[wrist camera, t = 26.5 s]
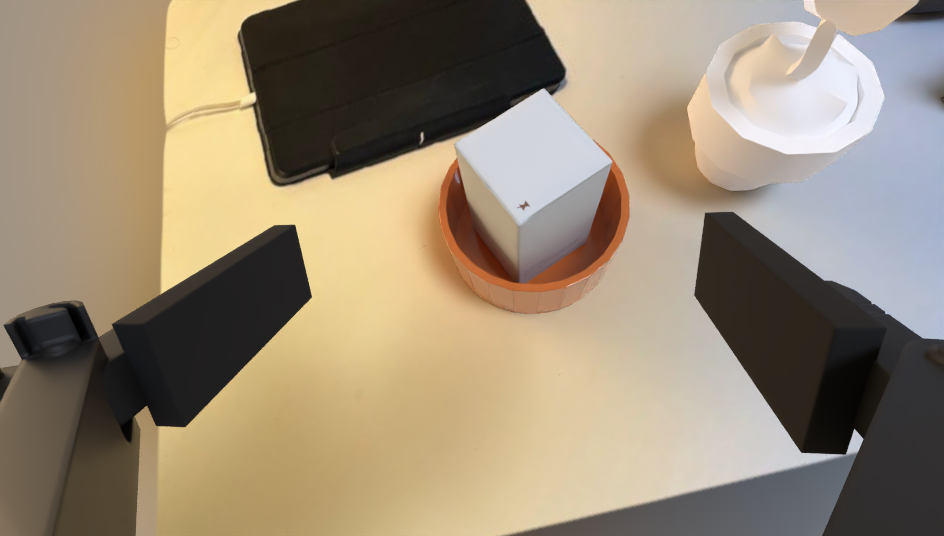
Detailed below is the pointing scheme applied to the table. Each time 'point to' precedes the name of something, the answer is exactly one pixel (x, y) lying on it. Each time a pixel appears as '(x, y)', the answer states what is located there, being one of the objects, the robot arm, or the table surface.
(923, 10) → the headphones
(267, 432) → the table surface
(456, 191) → the orange round bowl
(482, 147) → the white packaging box
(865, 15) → the potted plant
